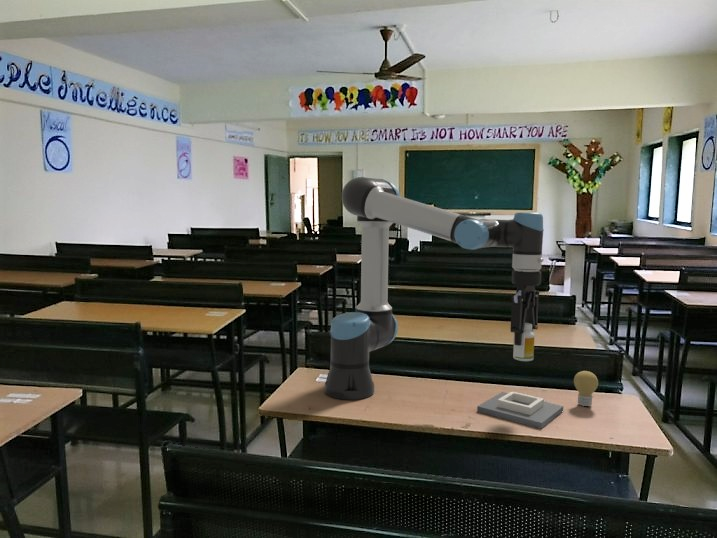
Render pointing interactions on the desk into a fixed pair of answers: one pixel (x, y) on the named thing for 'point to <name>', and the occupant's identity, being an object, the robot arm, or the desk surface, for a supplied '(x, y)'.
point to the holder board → (521, 409)
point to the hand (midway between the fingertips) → (523, 354)
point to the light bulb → (585, 387)
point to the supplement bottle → (527, 344)
